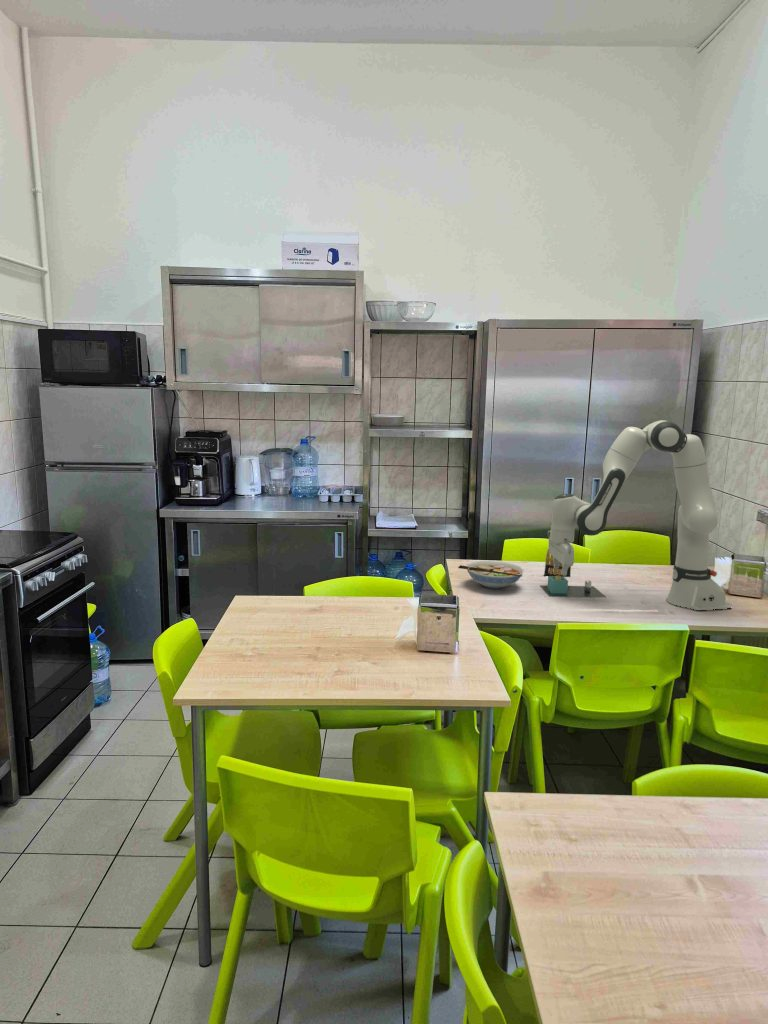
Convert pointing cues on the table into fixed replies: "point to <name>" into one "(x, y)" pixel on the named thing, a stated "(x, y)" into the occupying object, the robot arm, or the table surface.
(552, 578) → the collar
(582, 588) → the plate
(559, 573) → the ammunition clip
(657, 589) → the table surface
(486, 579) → the ramen bowl
